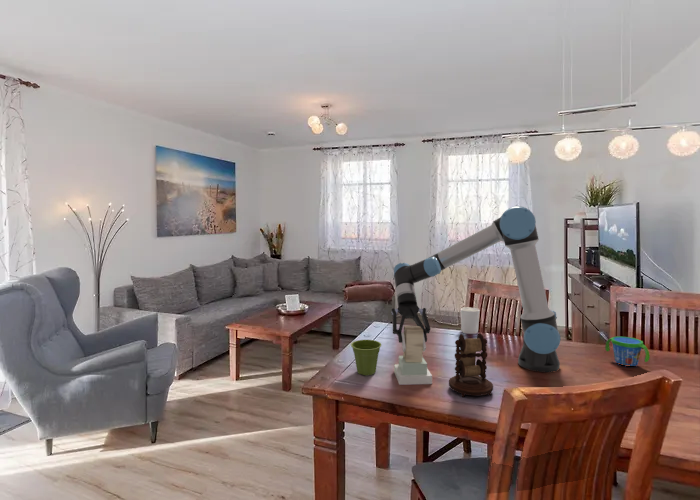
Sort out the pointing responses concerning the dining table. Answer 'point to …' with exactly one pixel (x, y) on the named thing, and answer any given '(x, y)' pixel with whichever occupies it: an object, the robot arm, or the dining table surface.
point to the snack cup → (627, 350)
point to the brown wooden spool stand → (471, 367)
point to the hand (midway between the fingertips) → (414, 349)
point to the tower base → (412, 377)
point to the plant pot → (366, 355)
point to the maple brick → (413, 343)
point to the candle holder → (469, 320)
